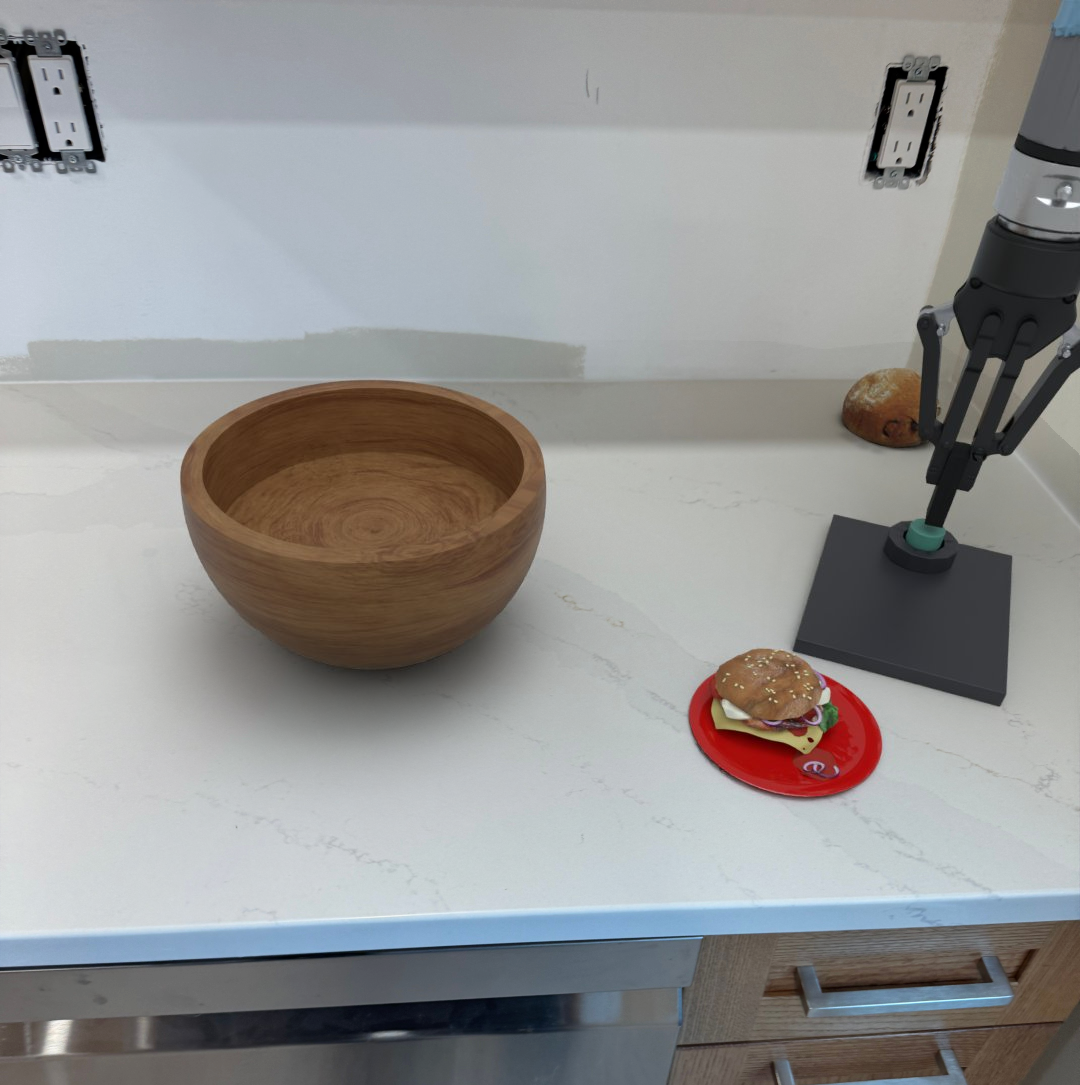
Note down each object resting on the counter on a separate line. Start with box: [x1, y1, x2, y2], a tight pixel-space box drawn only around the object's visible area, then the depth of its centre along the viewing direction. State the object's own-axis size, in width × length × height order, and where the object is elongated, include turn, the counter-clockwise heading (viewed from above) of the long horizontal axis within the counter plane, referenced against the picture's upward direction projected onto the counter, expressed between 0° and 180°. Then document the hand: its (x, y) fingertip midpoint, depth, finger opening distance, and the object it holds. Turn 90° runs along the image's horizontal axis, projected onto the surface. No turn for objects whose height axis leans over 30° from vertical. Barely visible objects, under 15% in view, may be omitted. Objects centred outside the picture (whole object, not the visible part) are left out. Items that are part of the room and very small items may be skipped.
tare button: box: [905, 517, 947, 551], centre depth 84 cm, size 3×3×2 cm
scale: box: [791, 513, 1013, 707], centre depth 80 cm, size 16×20×3 cm
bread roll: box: [841, 367, 942, 448], centre depth 104 cm, size 10×10×8 cm
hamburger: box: [688, 646, 883, 798], centre depth 68 cm, size 14×14×6 cm
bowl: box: [179, 379, 547, 670], centre depth 71 cm, size 25×25×15 cm
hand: (934, 518), depth 82 cm, fingers closed
